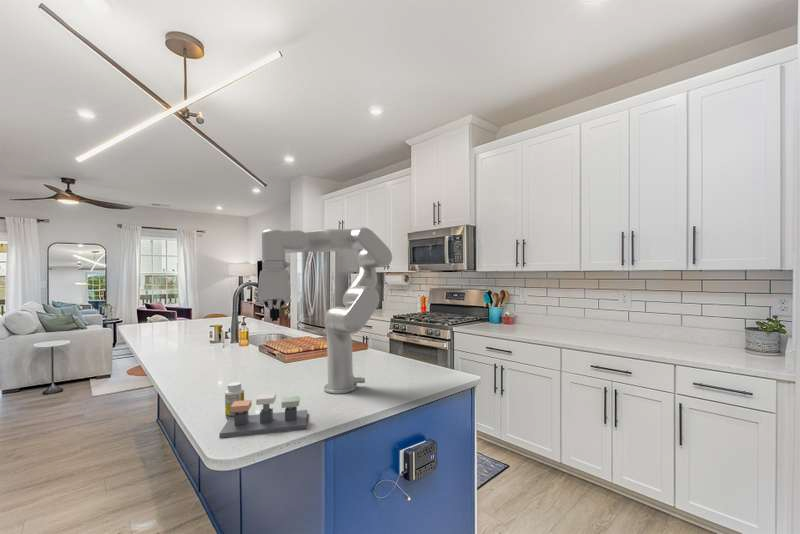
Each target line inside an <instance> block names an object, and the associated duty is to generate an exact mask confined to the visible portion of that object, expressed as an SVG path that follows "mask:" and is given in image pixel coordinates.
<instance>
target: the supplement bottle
mask: <svg viewBox="0 0 800 534" xmlns="http://www.w3.org/2000/svg"><path fill="white" fill-rule="evenodd" d="M244 400H245V389H244V388H243V387H242V383H241V381H234V382H231V383H228V384H227V389H226V390H225V392H224V401H225V402H224V403H225V405H224V406H225V408H224V410H225V418H226V419H228V420H229V418H230V417H234V415H235V414H236V412H231V406H232V404H233V403H234V401H244Z"/></svg>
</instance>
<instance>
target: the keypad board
mask: <svg viewBox="0 0 800 534" xmlns="http://www.w3.org/2000/svg"><path fill="white" fill-rule="evenodd" d="M307 419H308V409H303V410H302V409H301V410H298V406H297V407H294V410H288V407H286V408H285V409H284V411H283V412H282V411H281V412H274V409H273V407H271V408H270V411H269V412H263V408H261V409H260V412H259V414H249V411H245V414H240V415H238V412H236V414H235V415H234V417H230V418H229V419H228V420H227V421H226V423H225V424H224V426H223V427H222V429H221V430H220V432H219V433H218V434H219V439H221V438H222V439H223V438H230V437H232V438H233V437H239V436H249V435H251V436H252V435H261V434H262V435H263V434H270V433H278V431H281V432H289V431H288V430H290V431H298V430H300V431H301V430H306V427H307V422H306V421H308V420H307Z"/></svg>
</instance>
